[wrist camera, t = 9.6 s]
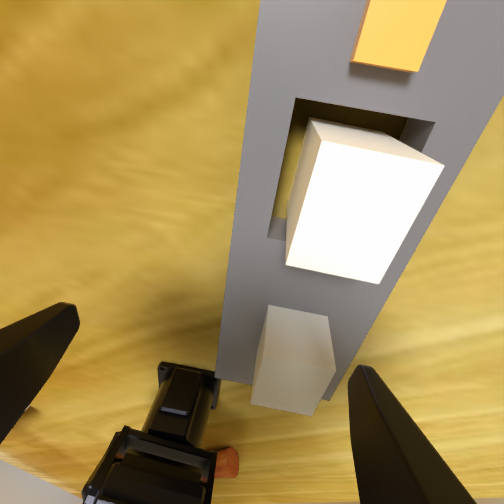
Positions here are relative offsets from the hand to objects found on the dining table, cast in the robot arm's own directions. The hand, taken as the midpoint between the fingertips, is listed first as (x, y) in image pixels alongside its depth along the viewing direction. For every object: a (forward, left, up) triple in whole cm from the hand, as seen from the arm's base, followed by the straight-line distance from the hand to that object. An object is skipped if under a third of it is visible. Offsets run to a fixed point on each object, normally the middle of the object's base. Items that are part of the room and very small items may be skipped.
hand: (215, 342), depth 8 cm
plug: (+3, -4, -11) cm, 12 cm away
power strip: (-2, -4, -11) cm, 12 cm away
